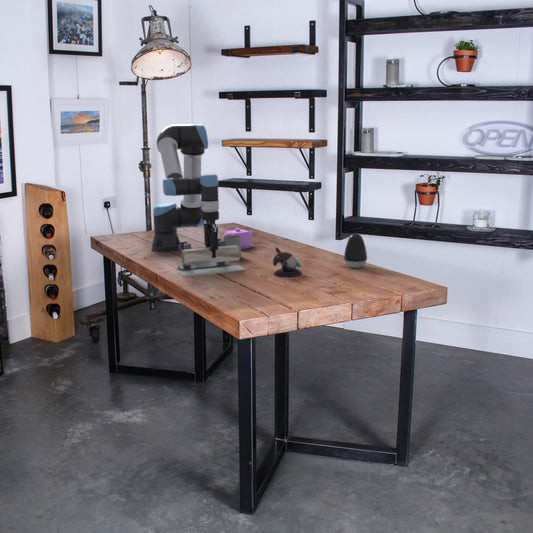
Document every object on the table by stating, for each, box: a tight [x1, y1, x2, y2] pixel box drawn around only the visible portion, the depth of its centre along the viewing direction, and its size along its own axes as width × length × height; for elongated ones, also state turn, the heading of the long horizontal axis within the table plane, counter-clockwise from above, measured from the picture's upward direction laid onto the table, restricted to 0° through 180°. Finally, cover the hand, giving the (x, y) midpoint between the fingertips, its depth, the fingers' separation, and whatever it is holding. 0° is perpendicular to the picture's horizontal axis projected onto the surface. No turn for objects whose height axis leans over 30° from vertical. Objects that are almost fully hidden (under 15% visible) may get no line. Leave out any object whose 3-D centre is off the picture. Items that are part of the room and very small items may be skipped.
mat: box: [178, 265, 246, 278], centre depth 281 cm, size 8×28×1 cm, turn 113°
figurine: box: [272, 246, 302, 278], centre depth 274 cm, size 11×12×12 cm
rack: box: [177, 237, 231, 271], centre depth 287 cm, size 8×22×12 cm, turn 113°
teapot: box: [222, 227, 254, 250], centre depth 331 cm, size 18×10×10 cm, turn 124°
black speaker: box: [343, 232, 368, 269], centre depth 284 cm, size 10×10×15 cm
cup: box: [222, 235, 242, 259], centre depth 308 cm, size 8×8×10 cm
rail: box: [183, 245, 240, 265], centre depth 279 cm, size 4×24×6 cm, turn 112°
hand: (211, 263), depth 280 cm, fingers closed on rail, 4 cm apart
